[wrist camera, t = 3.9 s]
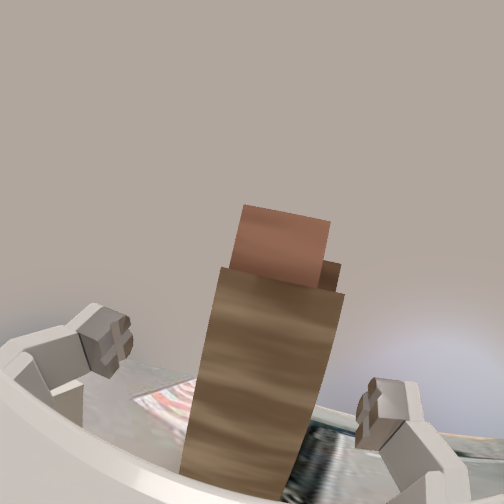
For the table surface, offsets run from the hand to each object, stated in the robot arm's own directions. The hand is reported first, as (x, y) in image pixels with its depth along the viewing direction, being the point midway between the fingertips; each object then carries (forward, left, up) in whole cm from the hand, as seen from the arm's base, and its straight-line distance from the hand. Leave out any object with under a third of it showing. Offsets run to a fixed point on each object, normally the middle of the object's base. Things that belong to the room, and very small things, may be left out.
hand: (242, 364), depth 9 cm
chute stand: (-3, -19, -23) cm, 30 cm away
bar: (-2, -14, +3) cm, 14 cm away
